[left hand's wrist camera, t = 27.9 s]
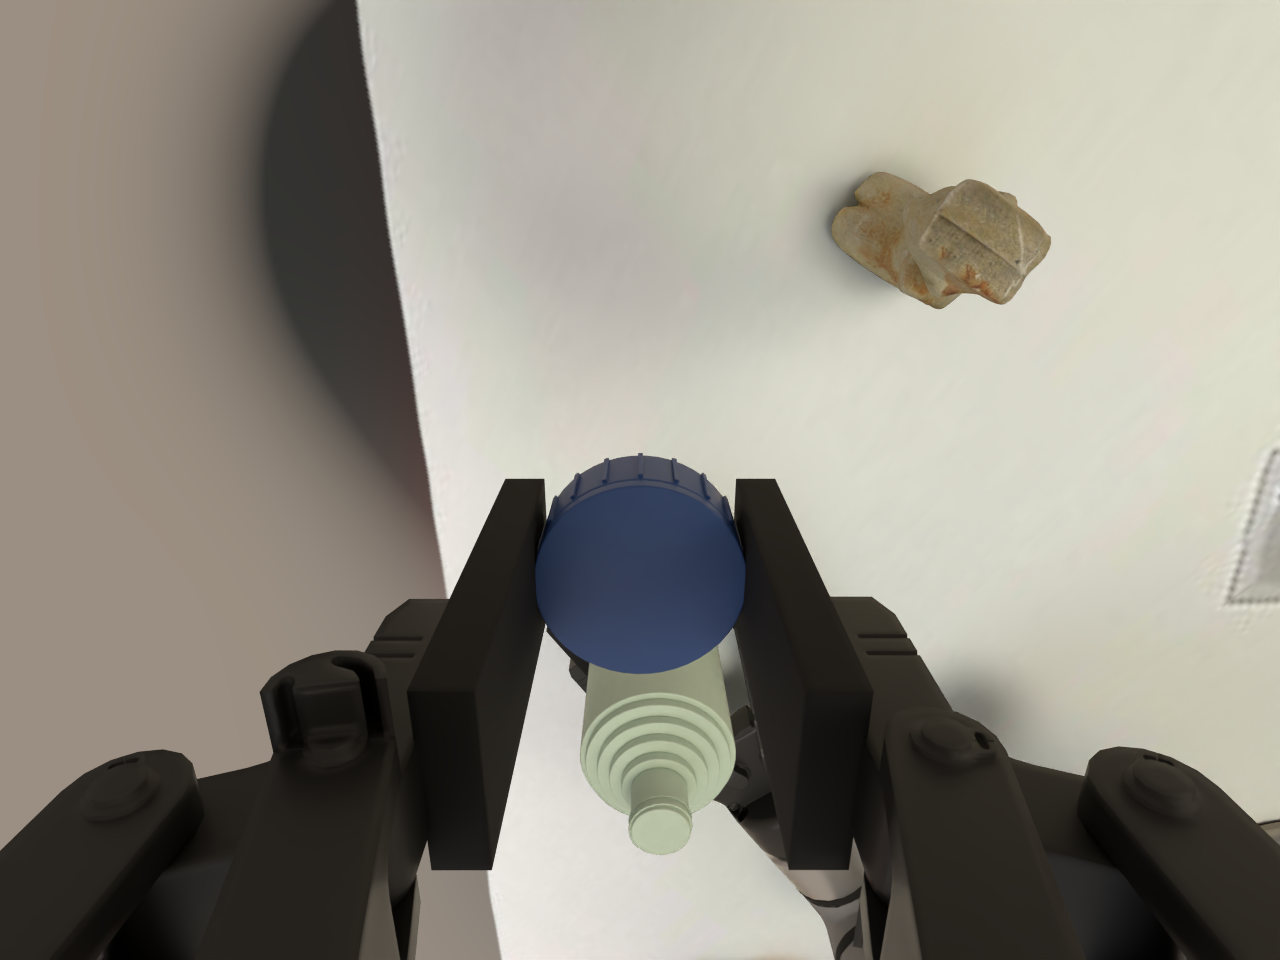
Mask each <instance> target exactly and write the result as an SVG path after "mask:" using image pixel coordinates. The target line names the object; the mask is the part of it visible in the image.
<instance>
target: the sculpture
mask: <svg viewBox="0 0 1280 960" xmlns="http://www.w3.org/2000/svg"><path fill="white" fill-rule="evenodd" d="M855 198H856V200H857V202H858V205H857V206H853V207H844V208H843V209H841V210H840V211H839V212H838V214H837V215H836V217H835V219H834V221H833V224H832V228H831V232H832V236H833V239H834V241H835V242H836V243H837V245H838V246H839V247H840V248H841V249H842V250H843V251H844V252H845V253H846V254H848V255H849V256H850V257H851V258H853V259H854V260H855V261H857V262H858V263H859V264H861V265H862V266H864V267H865V268H867V269H868V270H870V271H871V272H873V273H874V274H876V275H877V276H879V277H880V278H882V279H883V280H885V281H887V282H888V283H890V284H892V285H893V286H895V287H897V288H898V289H900V291H901V292H903V293H905V294H907V295H909V296H911V297H914V298H916V299H918V300H919V301H921V302H923V303H924V304H927V305H930V306H931V307H933V308H936V309H942V308H944V307H946V306H947V305H948V304H950V303H951V302H952V301H953V300H955V299H956V298H957V297H958V296H959V295H960V294H961V293H971V294H978V295H980V296H982V297H984V298H985V299H987V300H989V301H991V302H994V303H996V304H1005V303H1007V302H1008V301H1010V300H1011V299H1012V298H1013V296H1014V295H1015V294H1016V292H1017V291H1018V290H1019V288H1020V287H1021V285H1022V283H1023V281H1024V279H1025V277H1026V276H1027V275H1028V274H1029V273H1030V272H1031V271H1032V270H1033V269H1034V268H1035V267H1036V266H1037V265H1038V264H1039V263H1040V262H1041V261H1042V260H1043V259H1044V258H1045V256H1046V254H1047V252H1048V250H1049V248H1050V244H1051V237H1050V236H1049V235H1047V234H1046V232H1045V231H1044V229H1043V228H1042V227H1041V225H1040V224H1039V223H1038V222H1037V221H1036V220H1035V219H1033V218H1032V217H1031V216H1030V215H1029V214H1028V213H1026V212H1025V211H1024V210H1022V209H1021V208H1019V207H1018V206H1017V199H1016V197H1015V196H1013V195H1011V194H1009V193H1005V192H999V191H996V190H995V189H994V188H992V187H990V186H989V185H987V184H985V183H982V182H980V181H976V180H971V179H968V180H965V181H963V182H961V183H960V184H958V185H957V186H950V187H946V188H943V189H941V190H939V191H937V192H935V193H933V194H929V193H927V192H925V191H924V190H922V189H920V188H919V187H917V186H915V185H913V184H911V183H909V182H907V181H905V180H903V179H901V178H899V177H896V176H894V175H891V174H888V173H884V172H877V173H874V174H873V175H871V176H870V177H869V178H868V179H867V180H866V181H864V182H863V183H862V184H861V185H860V187H859V188H858V189H857V190H856V191H855Z"/></svg>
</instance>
